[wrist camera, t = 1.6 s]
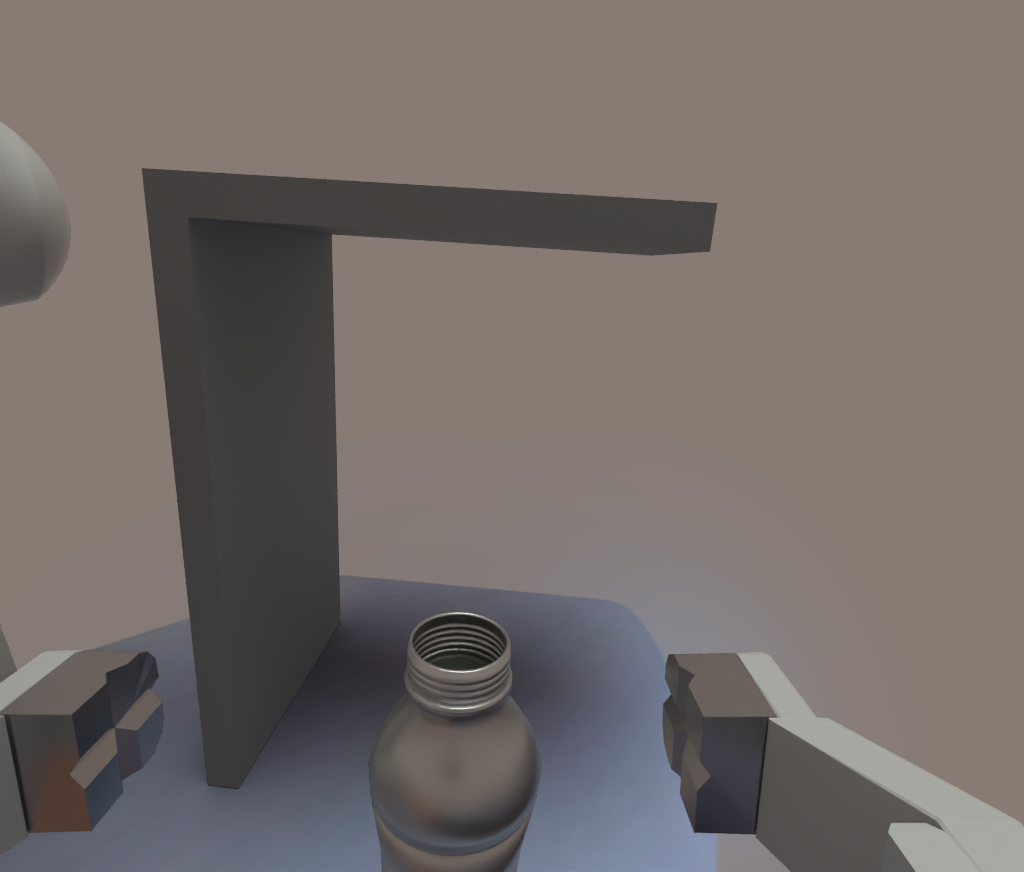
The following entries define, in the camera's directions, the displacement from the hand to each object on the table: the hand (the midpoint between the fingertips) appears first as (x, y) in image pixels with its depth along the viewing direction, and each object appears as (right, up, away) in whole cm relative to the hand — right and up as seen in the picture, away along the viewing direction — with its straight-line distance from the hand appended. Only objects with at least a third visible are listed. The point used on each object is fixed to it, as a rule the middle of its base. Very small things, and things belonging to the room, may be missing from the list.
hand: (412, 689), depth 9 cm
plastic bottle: (-2, -23, +18) cm, 29 cm away
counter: (-4, -17, +36) cm, 40 cm away
